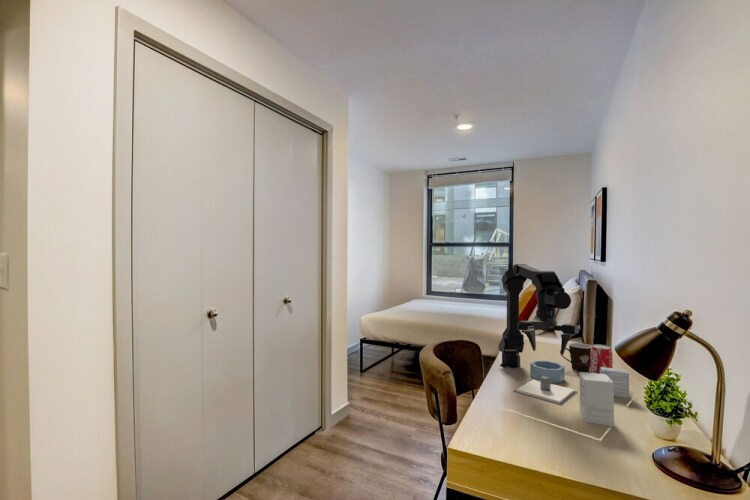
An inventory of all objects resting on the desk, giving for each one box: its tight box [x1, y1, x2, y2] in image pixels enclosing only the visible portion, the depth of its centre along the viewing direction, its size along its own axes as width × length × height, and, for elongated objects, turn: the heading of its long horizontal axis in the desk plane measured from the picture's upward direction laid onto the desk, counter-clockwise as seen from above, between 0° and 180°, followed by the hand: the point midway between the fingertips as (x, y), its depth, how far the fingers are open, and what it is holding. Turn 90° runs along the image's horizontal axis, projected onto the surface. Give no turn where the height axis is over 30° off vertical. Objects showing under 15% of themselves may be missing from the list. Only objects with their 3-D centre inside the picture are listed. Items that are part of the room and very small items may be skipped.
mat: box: [512, 383, 579, 407], centre depth 125 cm, size 16×16×1 cm
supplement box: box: [579, 372, 615, 428], centre depth 105 cm, size 7×7×13 cm
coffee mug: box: [559, 342, 592, 373], centre depth 151 cm, size 12×9×10 cm
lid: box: [516, 376, 575, 404], centre depth 125 cm, size 14×14×5 cm
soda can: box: [589, 343, 613, 374], centre depth 138 cm, size 7×7×13 cm
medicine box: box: [600, 367, 630, 399], centre depth 124 cm, size 8×4×9 cm, turn 65°
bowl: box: [529, 360, 566, 384], centre depth 139 cm, size 11×11×6 cm
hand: (548, 352), depth 126 cm, fingers open, 9 cm apart
